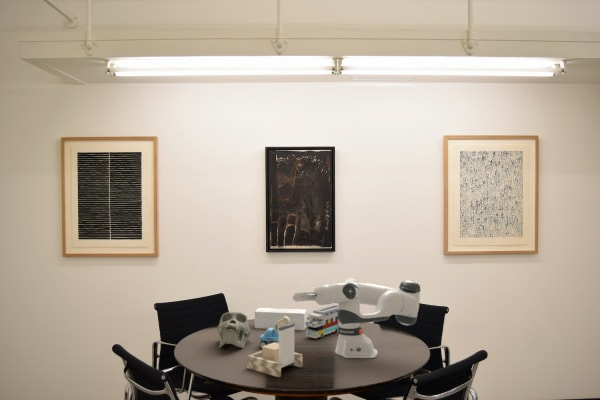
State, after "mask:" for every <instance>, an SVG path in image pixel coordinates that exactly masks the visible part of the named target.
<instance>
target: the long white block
mask: <svg viewBox="0 0 600 400" xmlns="http://www.w3.org/2000/svg"><path fill="white" fill-rule="evenodd" d="M285 316H287V317H289V319H290V324H291V323H295V326H294V331H305V330H306V329H307V328H308V326H305V321H307V320H308V310H307V309H301V308H299V309H296V308H292V309H291V308H274V307H273V308H271V307H258V308H257V309H256V310H255V311H254V329H265V330H267V329H269V328H275V323H276V322H277V321H279V320H281V319H283V318H284V317H285ZM285 325H286V323H285V322H284V323H282V324H281V325H279V327H282V326H285Z"/></svg>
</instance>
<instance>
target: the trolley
mask: <svg viewBox="0 0 600 400" xmlns="http://www.w3.org/2000/svg"><path fill="white" fill-rule="evenodd" d="M294 326H295V323H291V324H288V325H285V326H282V327H279V328H278V329H279V343H275V342H274V343H271V344H268V345H265V346H263V347H262V348H261V349H262V358H263V359H266V360H270V361H274V362H277V363H281V369H282V368H284V367H287V366H290V367H294V352H295V330H294Z"/></svg>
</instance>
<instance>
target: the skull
mask: <svg viewBox="0 0 600 400" xmlns="http://www.w3.org/2000/svg"><path fill="white" fill-rule="evenodd" d="M217 333H218V335H219V337H220V339H219V340H220V341H219V349H222V347H223V346H224V345H225V344H227V345H229V344H231V345H233V346H235V347H237V348H241V349H244V348H245V347H246V344H247V340H248V339H249V337H250V336H251V335H252V332H251V330H250V324H249V322H248V315H247V314H244V313H242V312H239V311H235V312H233V311H228V312H225V313H223V314H222V315H221V317H220V319H219V324H218V326H217Z"/></svg>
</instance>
